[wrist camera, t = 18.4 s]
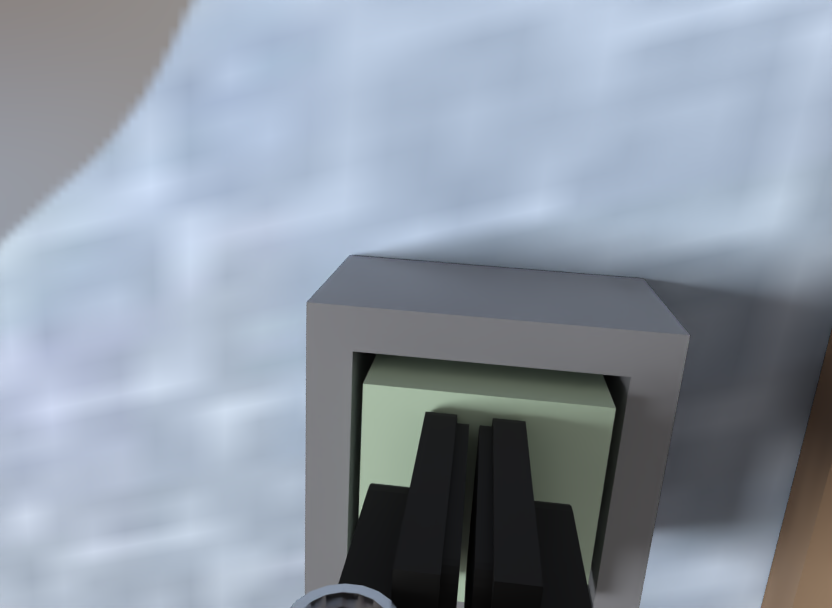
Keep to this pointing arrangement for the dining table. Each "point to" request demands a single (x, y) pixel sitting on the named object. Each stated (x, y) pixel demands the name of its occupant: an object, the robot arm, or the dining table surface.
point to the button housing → (501, 345)
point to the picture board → (808, 514)
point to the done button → (477, 405)
